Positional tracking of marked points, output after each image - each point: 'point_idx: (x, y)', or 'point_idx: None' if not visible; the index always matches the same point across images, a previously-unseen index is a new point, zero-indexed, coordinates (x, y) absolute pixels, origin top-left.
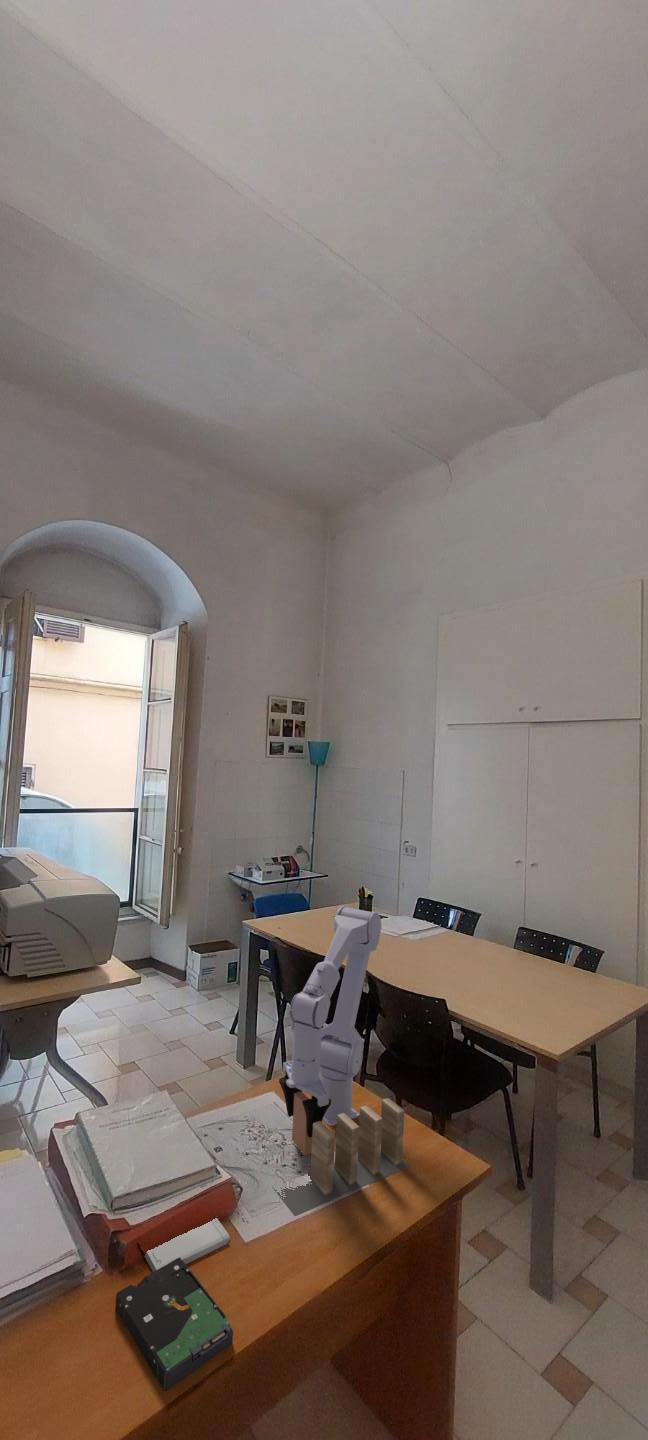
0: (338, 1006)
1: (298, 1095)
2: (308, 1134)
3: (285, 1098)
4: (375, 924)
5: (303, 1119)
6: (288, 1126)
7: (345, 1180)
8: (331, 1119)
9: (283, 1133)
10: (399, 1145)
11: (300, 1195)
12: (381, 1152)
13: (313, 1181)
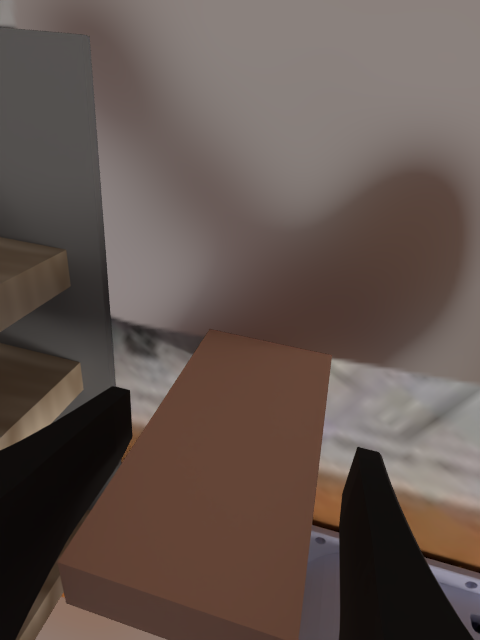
0: None
1: (239, 632)
2: (104, 393)
3: (411, 557)
4: None
5: (168, 459)
6: (454, 432)
7: (12, 346)
8: (327, 555)
9: (429, 381)
10: None
11: None
12: (88, 511)
13: (36, 245)
